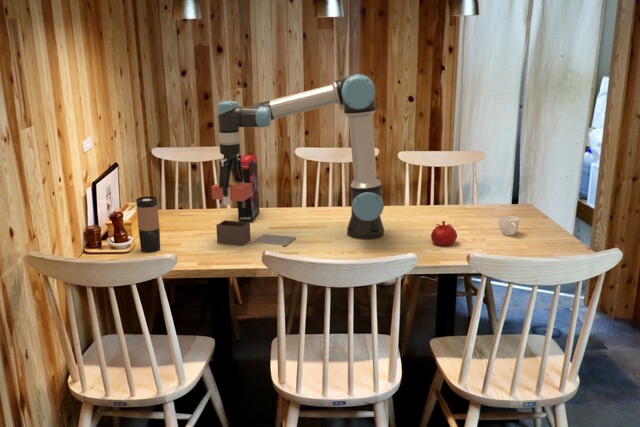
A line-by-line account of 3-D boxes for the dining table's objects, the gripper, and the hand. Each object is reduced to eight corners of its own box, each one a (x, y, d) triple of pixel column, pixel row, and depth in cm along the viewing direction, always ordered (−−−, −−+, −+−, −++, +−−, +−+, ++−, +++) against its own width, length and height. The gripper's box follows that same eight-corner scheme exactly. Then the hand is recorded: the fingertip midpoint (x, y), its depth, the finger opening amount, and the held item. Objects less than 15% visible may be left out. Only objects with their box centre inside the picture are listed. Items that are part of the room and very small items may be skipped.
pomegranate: (461, 245, 242) (463, 222, 239) (441, 249, 237) (443, 226, 234) (444, 238, 250) (446, 215, 247) (424, 241, 245) (426, 219, 243)
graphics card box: (252, 223, 272) (250, 161, 265) (237, 223, 273) (234, 161, 265) (259, 212, 288) (258, 154, 281) (245, 212, 289) (242, 154, 282)
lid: (252, 195, 242) (251, 182, 241) (242, 201, 234) (242, 187, 233) (222, 193, 246) (221, 180, 245) (212, 199, 238) (211, 185, 237)
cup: (513, 231, 259) (514, 215, 257) (523, 238, 249) (525, 222, 247) (495, 231, 258) (496, 216, 256) (505, 239, 248) (506, 222, 246)
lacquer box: (250, 242, 246) (249, 222, 244) (243, 247, 240) (242, 227, 238) (225, 239, 250) (224, 220, 248) (217, 244, 243) (216, 225, 241)
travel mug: (162, 246, 242) (159, 196, 237) (158, 252, 235) (154, 201, 229) (143, 246, 242) (138, 196, 236) (138, 253, 234) (133, 201, 229)
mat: (295, 238, 250) (295, 237, 250) (285, 246, 240) (285, 245, 240) (263, 235, 255) (263, 234, 255) (252, 243, 245) (252, 242, 244)
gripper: (233, 138, 245) (236, 194, 251) (206, 147, 226) (210, 207, 232) (250, 139, 243) (253, 195, 249) (225, 148, 223) (228, 209, 229)
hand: (232, 201), depth 240 cm, fingers closed on lid, 9 cm apart
